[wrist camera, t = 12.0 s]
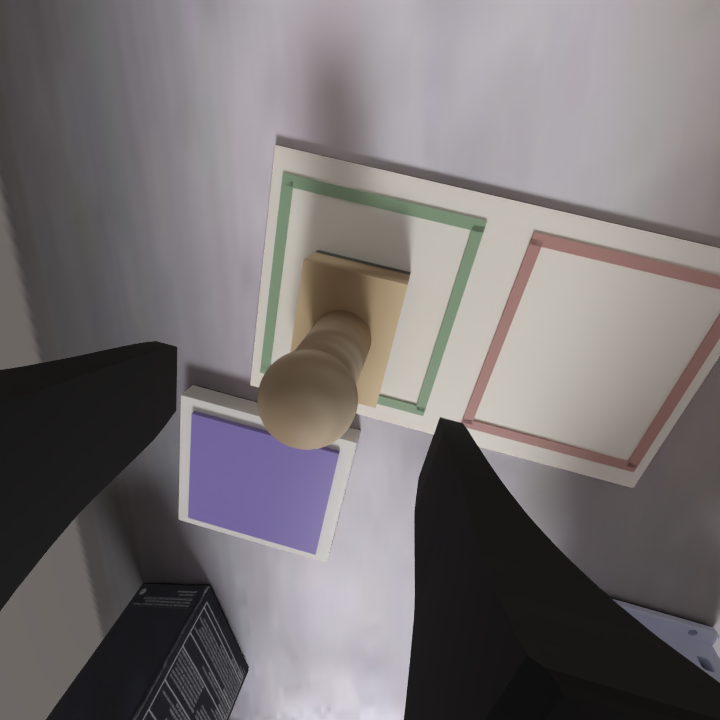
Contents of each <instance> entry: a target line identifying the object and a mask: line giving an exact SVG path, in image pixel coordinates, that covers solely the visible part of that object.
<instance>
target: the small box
mask: <svg viewBox="0 0 720 720" xmlns="http://www.w3.org/2000/svg"><path fill="white" fill-rule="evenodd" d="M247 673H248V667H247V665H246V663H245V660H244V658H243V656H242V654H241V652H240V650H239V648H238V645H237V643H236V641H235V639H234V637H233V635H232V632H231V630H230V628H229V626H228V624H227V622H226V619H225V617H224V615H223V613H222V611H221V609H220V606H219V604H218V602H217V600H216V598H215V595H214V593H213V591H212V589H211V587H210V586H207V585H168V584H142V585H141V587H140V588H139V590H138V591H137V593H136V594H135V596H134V597H133V598H132V600H131V601H130V603H129V604H128V606H127V607H126V608H125V610H124V611H123V612H122V614H121V615H120V617H119V618H118V620H117V621H116V622H115V624H114V625H113V626H112V628H111V629H110V631H109V632H108V634H107V635H106V636H105V638H104V639H103V641H102V642H101V643H100V645H99V646H98V648H97V649H96V650H95V652H94V653H93V655H92V656H91V657H90V659H89V660H88V662H87V663H86V664H85V666H84V667H83V669H82V670H81V671H80V673H79V674H78V675H77V677H76V678H75V680H74V681H73V682H72V684H71V685H70V687H69V688H68V689H67V691H66V692H65V694H64V695H63V696H62V698H61V699H60V700H59V702H58V703H57V705H56V706H55V707H54V709H53V710H52V712H51V713H50V715H49V716H48V718H47V719H46V720H228V719H229V717H230V714H231V712H232V710H233V707H234V704H235V701H236V699H237V697H238V694H239V692H240V690H241V687H242V685H243V682H244V680H245V677H246V675H247Z"/></svg>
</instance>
